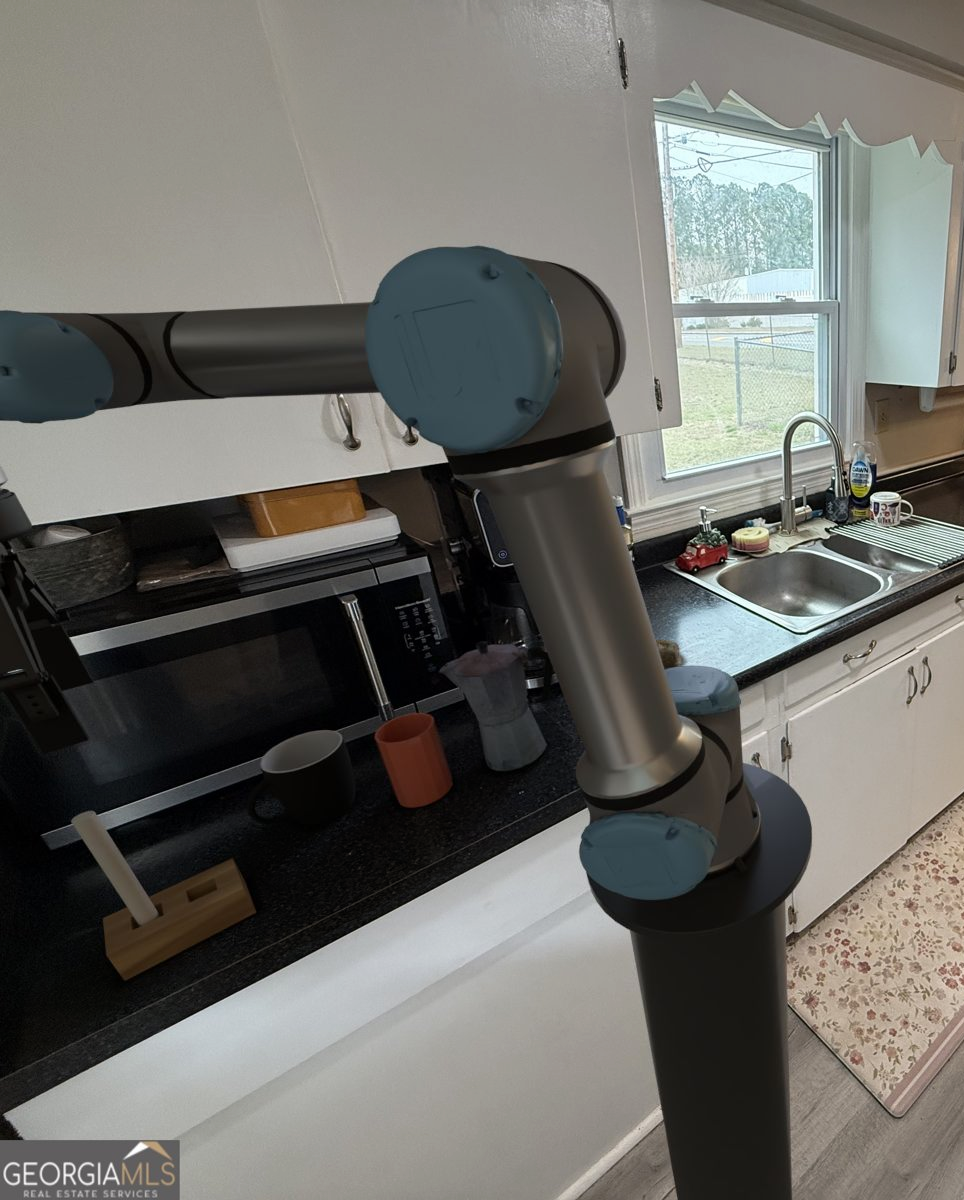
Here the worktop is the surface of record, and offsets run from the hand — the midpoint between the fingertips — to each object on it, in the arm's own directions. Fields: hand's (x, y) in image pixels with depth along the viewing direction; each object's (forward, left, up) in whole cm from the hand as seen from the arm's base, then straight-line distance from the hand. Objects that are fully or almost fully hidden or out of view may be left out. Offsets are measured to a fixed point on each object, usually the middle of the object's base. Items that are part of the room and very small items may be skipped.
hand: (71, 714), depth 59 cm
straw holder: (-1, 0, -28) cm, 28 cm away
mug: (+9, -14, -28) cm, 32 cm away
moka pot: (+1, -39, -28) cm, 48 cm away
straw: (-1, +3, -28) cm, 28 cm away
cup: (+3, -26, -28) cm, 38 cm away
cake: (+7, -70, -28) cm, 75 cm away
